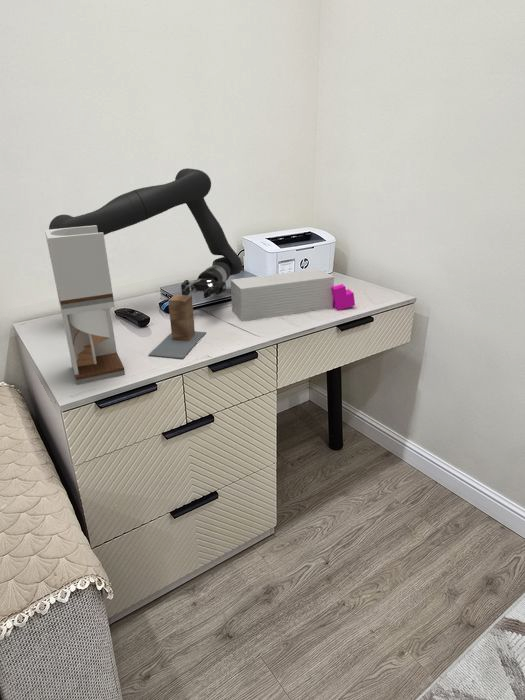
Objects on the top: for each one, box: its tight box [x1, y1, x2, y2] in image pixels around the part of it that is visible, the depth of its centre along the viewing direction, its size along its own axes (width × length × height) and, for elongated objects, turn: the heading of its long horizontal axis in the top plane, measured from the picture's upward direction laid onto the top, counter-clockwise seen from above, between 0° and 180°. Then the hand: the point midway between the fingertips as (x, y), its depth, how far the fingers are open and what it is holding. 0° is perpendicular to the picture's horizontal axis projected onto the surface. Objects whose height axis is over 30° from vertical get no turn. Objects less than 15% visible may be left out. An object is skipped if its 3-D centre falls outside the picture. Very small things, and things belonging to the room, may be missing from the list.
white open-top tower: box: [44, 225, 126, 385], centre depth 116 cm, size 11×11×35 cm
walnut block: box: [167, 294, 196, 341], centre depth 138 cm, size 5×5×12 cm
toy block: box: [332, 283, 356, 311], centre depth 166 cm, size 15×6×8 cm, turn 14°
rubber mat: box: [147, 330, 207, 360], centre depth 137 cm, size 10×18×1 cm, turn 166°
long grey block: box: [230, 268, 335, 322], centre depth 160 cm, size 32×11×11 cm, turn 110°
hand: (194, 294), depth 146 cm, fingers open, 6 cm apart
